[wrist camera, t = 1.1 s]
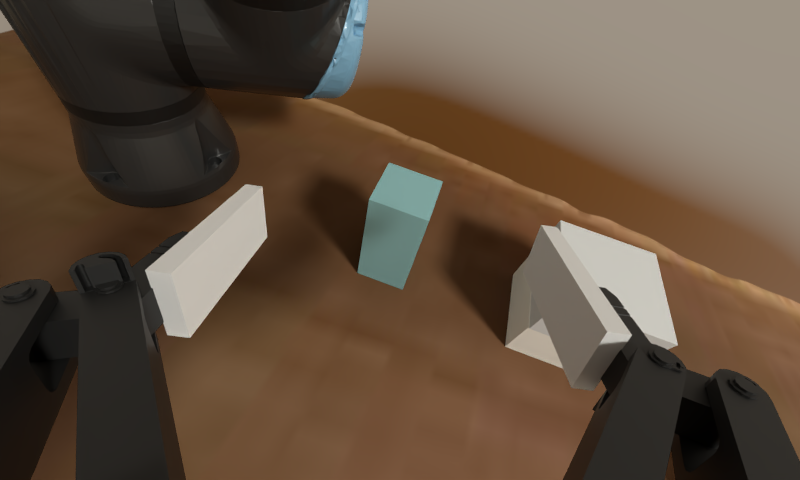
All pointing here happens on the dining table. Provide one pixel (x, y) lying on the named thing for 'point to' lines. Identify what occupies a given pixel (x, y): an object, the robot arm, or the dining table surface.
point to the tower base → (526, 324)
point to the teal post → (396, 224)
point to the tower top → (621, 282)
